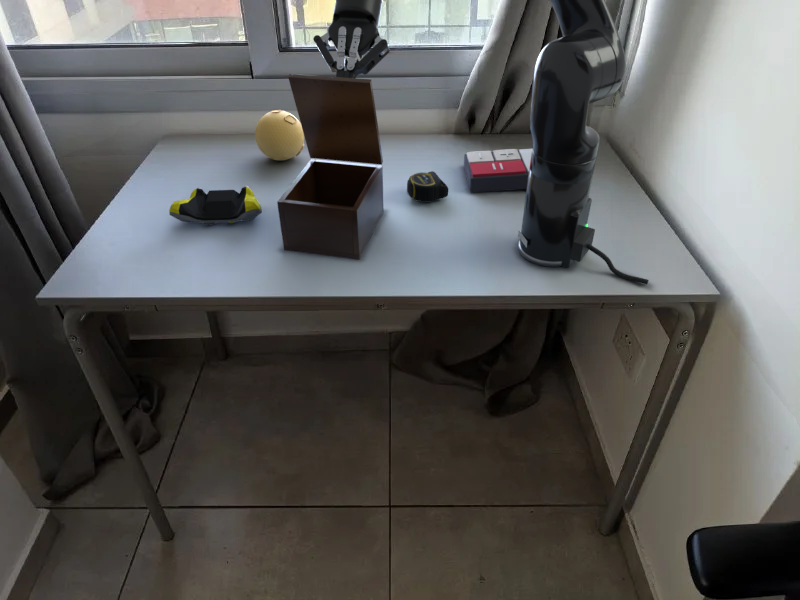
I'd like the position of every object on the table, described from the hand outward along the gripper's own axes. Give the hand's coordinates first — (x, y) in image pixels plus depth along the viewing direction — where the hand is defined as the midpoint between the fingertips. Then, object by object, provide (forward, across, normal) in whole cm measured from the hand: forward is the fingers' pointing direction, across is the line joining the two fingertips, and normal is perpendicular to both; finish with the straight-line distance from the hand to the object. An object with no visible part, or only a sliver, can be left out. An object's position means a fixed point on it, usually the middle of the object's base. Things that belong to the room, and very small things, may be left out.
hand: (342, 95), depth 100 cm
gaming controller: (+21, -21, +8) cm, 30 cm away
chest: (+20, 0, +9) cm, 22 cm away
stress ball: (+2, -20, +27) cm, 33 cm away
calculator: (+2, +26, +27) cm, 38 cm away
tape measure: (+9, +13, +20) cm, 25 cm away
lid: (+5, 0, 0) cm, 5 cm away
